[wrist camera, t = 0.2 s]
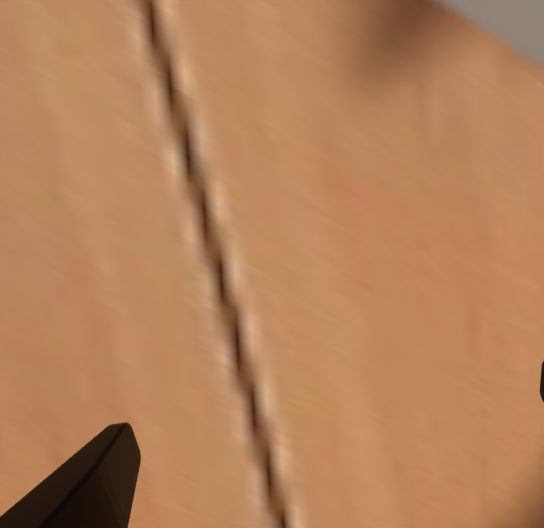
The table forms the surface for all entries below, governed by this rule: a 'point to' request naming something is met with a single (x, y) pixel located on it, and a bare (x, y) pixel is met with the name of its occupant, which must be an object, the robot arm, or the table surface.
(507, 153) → the table surface
